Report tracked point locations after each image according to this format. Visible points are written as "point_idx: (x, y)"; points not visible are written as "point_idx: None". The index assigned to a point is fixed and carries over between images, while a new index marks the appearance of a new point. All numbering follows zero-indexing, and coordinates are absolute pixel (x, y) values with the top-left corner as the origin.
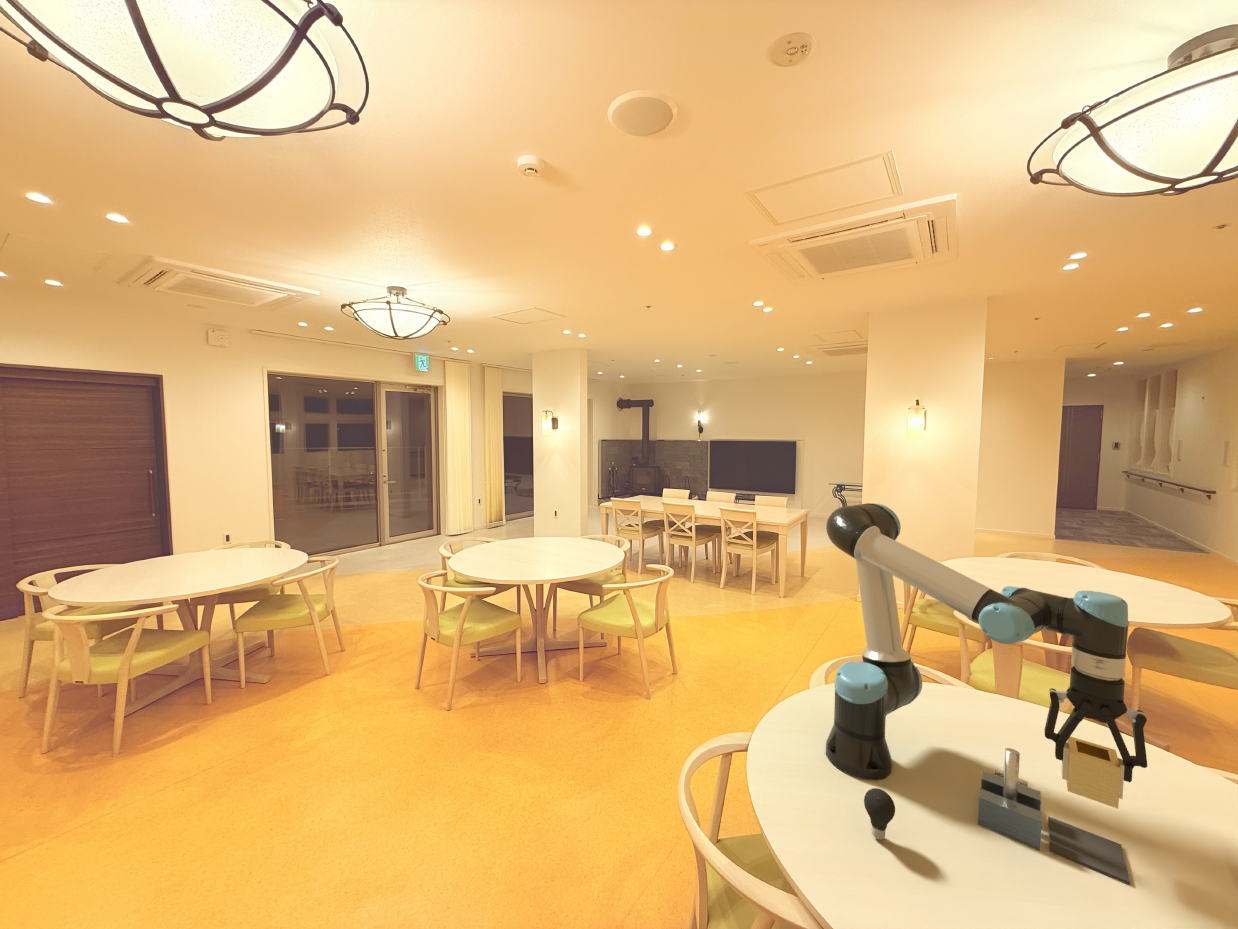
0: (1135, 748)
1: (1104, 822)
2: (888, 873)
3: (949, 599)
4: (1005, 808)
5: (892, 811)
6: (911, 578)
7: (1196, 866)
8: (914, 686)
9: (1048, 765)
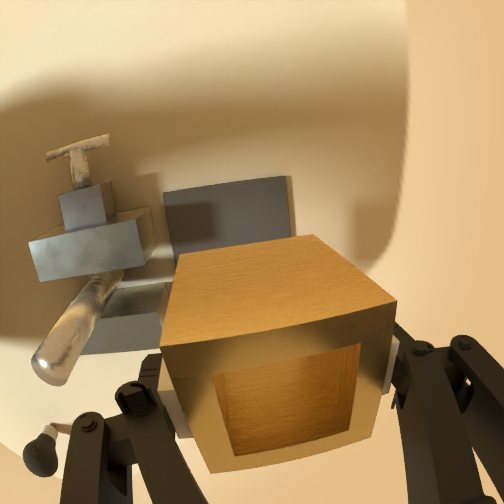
0: (474, 403)
1: (256, 104)
2: None
3: None
4: (108, 352)
5: (55, 468)
6: None
7: (378, 135)
8: None
9: None
